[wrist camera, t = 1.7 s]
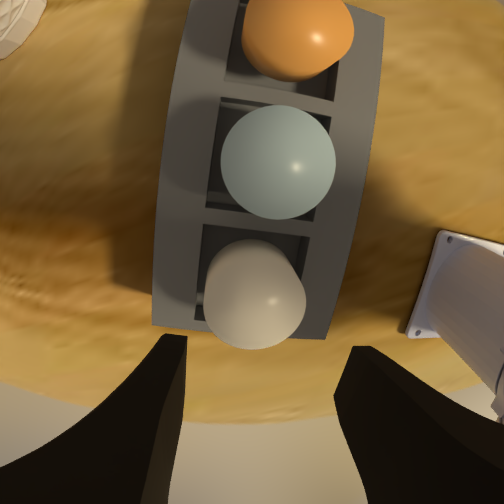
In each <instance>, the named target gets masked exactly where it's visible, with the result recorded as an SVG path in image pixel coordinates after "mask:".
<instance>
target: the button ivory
mask: <svg viewBox="0 0 504 504" xmlns="http://www.w3.org/2000/svg"><path fill="white" fill-rule="evenodd" d="M305 309H306V295H305V291H304V288H303V286H302V283H301V282H300V280H299V278H298V276H297V274H296V273H295V271H294V269H293V267H292V265H291V264H290V262H289V260H288V259H287V257H286V255H285V254H284V253H283V252H282V251H281V250H280V249H279V248H278V247H276V246H275V245H273V244H271V243H269V242H266V241H263V240H258V239H243V240H239V241H236V242H233V243H231V244H229V245H227V246H225V247H224V248H222V249H221V250H220V251H219V252H218V253H217V254H216V255H215V256H214V258H213V259H212V261H211V263H210V265H209V268H208V271H207V276H206V284H205V293H204V302H203V310H204V316H205V320H206V322H207V324H208V326H209V328H210V329H211V331H212V332H213V333H214V334H215V335H216V336H217V337H218V338H219V339H220V340H222V341H223V342H225V343H227V344H229V345H231V346H234V347H237V348H241V349H252V350H255V349H263V348H267V347H271V346H274V345H276V344H278V343H280V342H282V341H283V340H285V339H286V338H288V337H289V336H290V335H291V334H292V333H293V332H294V331H295V330H296V329H297V327H298V326H299V324H300V323H301V321H302V319H303V316H304V313H305Z"/></svg>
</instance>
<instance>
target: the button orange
mask: <svg viewBox="0 0 504 504" xmlns="http://www.w3.org/2000/svg"><path fill="white" fill-rule="evenodd" d="M353 37H354V25H353V20H352V17H351V15H350V12H349V10H348V9H347V7H346V6H345V4H344V3H343V2H342V1H341V0H249V2H248V5H247V8H246V13H245V18H244V24H243V29H242V36H241V43H242V48H243V51H244V54H245V56H246V58H247V59H248V61H249V62H250V63H251V65H252V66H253V67H254V68H255V69H257V70H258V71H259V72H260V73H262V74H264V75H265V76H267V77H269V78H272V79H274V80H278V81H282V82H301V81H306V80H308V79H311V78H313V77H315V76H317V75H318V74H319V73H321V72H322V71H324V70H325V69H326V68H328V67H329V66H331V65H332V64H333V63H335V62H336V61H338V60H339V59H341V58H342V57H343V56H344V55H345V54H346V53H347V51H348V50H349V48H350V46H351V44H352V41H353Z"/></svg>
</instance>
